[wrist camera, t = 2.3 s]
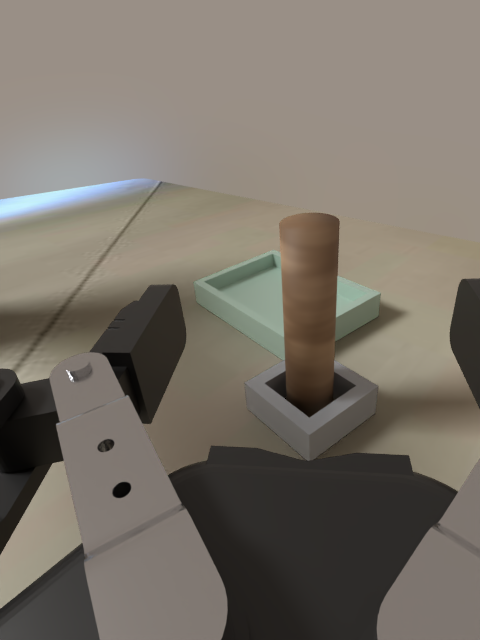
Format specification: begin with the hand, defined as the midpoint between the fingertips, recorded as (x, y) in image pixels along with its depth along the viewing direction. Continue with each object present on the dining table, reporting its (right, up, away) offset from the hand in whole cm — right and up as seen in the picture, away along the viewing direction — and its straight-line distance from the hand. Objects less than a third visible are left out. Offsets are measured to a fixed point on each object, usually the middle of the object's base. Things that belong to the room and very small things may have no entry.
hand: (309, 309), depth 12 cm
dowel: (+3, -7, +18) cm, 19 cm away
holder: (+3, -7, +18) cm, 19 cm away
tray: (+2, +1, +30) cm, 30 cm away
